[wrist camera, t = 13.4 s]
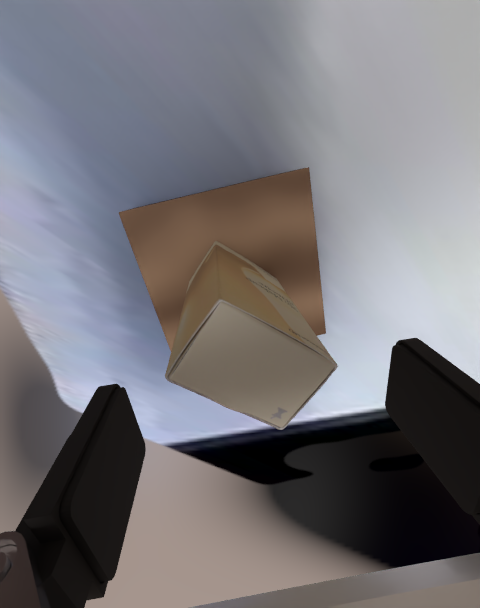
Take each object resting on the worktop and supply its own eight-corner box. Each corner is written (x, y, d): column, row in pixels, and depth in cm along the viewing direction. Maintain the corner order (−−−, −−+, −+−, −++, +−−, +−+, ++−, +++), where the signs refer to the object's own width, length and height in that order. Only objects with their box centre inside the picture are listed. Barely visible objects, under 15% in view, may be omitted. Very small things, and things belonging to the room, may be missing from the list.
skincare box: (278, 278, 23) (348, 368, 12) (249, 319, 24) (287, 436, 13) (211, 236, 21) (219, 295, 10) (183, 282, 22) (161, 383, 11)
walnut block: (135, 207, 24) (118, 212, 20) (290, 171, 24) (308, 167, 20) (182, 341, 30) (177, 369, 25) (308, 310, 30) (325, 333, 25)
